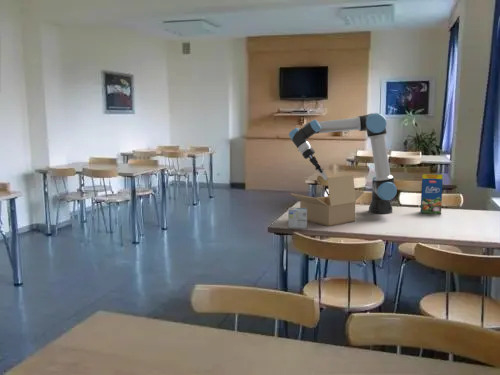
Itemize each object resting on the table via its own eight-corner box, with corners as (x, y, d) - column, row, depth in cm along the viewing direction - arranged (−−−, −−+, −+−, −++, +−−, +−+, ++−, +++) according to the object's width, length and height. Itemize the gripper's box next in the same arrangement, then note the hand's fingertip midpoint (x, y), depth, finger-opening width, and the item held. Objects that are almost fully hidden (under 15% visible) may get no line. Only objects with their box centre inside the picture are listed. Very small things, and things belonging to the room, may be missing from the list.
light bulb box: (306, 225, 282) (307, 207, 281) (307, 228, 275) (307, 209, 274) (288, 225, 283) (288, 207, 282) (288, 228, 277) (288, 209, 275)
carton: (288, 221, 294) (288, 192, 292) (334, 213, 317) (335, 186, 315) (317, 228, 274) (318, 198, 272) (364, 219, 298) (365, 191, 295)
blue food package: (441, 214, 313) (443, 175, 309) (421, 213, 316) (423, 174, 312) (439, 212, 319) (441, 174, 315) (420, 211, 322) (422, 173, 318)
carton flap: (327, 177, 278) (327, 177, 277) (352, 175, 290) (353, 175, 290) (330, 205, 278) (331, 205, 277) (355, 201, 290) (356, 201, 290)
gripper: (304, 157, 317) (322, 183, 312) (299, 151, 292) (319, 179, 288) (313, 150, 316) (332, 177, 311) (309, 143, 291) (329, 172, 287)
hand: (326, 178), depth 300 cm, fingers open, 13 cm apart
